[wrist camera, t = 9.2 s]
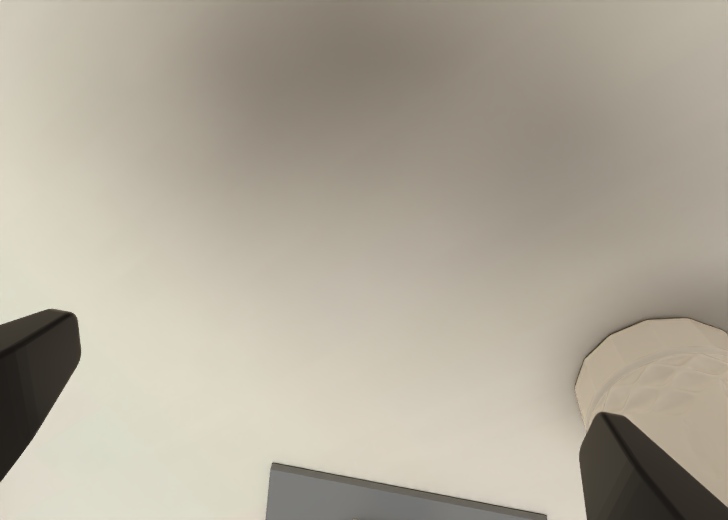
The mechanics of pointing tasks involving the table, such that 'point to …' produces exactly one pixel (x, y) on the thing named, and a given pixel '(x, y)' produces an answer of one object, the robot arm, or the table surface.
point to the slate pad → (367, 500)
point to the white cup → (666, 391)
